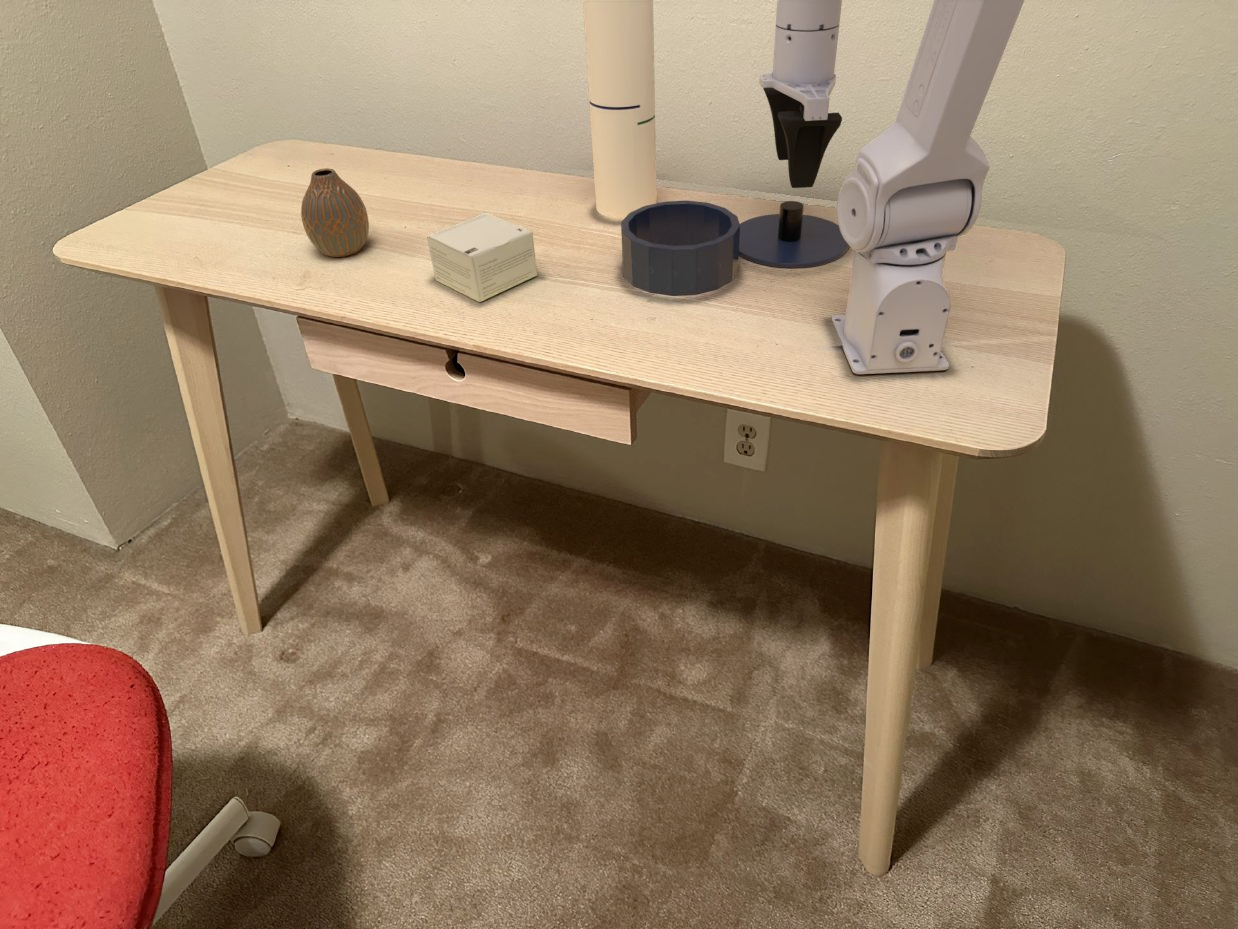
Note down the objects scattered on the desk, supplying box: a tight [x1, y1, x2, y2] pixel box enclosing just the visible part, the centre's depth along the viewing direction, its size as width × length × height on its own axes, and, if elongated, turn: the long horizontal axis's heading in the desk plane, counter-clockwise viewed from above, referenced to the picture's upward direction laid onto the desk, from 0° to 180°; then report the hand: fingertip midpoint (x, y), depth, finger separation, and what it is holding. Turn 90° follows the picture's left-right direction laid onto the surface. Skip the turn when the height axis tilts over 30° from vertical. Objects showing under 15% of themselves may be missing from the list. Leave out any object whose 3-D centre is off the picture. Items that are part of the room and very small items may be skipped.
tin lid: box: [739, 200, 850, 269], centre depth 90 cm, size 13×13×5 cm
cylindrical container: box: [582, 0, 658, 219], centre depth 93 cm, size 7×7×25 cm
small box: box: [426, 211, 538, 303], centre depth 87 cm, size 8×8×5 cm
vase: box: [300, 167, 370, 258], centre depth 93 cm, size 7×7×9 cm
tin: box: [620, 200, 740, 297], centre depth 86 cm, size 12×12×5 cm
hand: (794, 172), depth 86 cm, fingers open, 7 cm apart
